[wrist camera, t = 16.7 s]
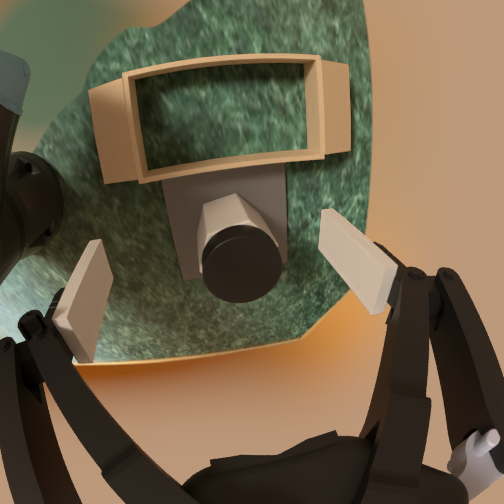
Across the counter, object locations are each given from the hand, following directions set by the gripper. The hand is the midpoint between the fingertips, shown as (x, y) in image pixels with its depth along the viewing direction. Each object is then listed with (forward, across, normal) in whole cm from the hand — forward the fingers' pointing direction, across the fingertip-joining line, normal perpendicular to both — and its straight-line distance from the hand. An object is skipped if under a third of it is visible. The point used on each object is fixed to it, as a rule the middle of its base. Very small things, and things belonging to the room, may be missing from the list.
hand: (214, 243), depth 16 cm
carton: (+21, +4, +6) cm, 23 cm away
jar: (+21, +3, -8) cm, 23 cm away
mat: (+21, +4, -8) cm, 23 cm away
